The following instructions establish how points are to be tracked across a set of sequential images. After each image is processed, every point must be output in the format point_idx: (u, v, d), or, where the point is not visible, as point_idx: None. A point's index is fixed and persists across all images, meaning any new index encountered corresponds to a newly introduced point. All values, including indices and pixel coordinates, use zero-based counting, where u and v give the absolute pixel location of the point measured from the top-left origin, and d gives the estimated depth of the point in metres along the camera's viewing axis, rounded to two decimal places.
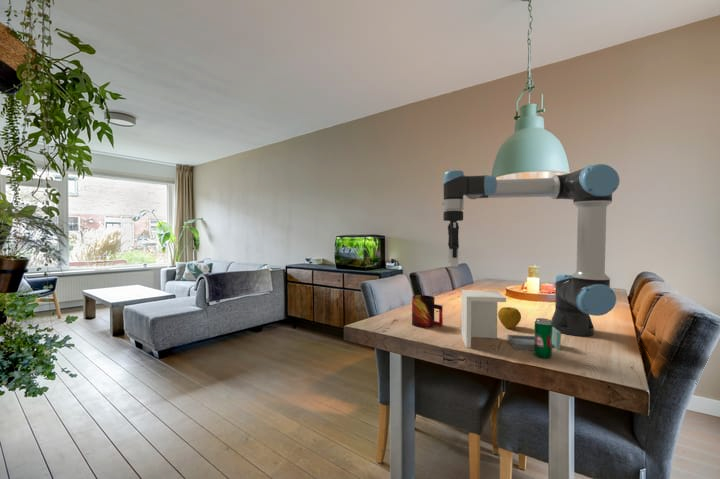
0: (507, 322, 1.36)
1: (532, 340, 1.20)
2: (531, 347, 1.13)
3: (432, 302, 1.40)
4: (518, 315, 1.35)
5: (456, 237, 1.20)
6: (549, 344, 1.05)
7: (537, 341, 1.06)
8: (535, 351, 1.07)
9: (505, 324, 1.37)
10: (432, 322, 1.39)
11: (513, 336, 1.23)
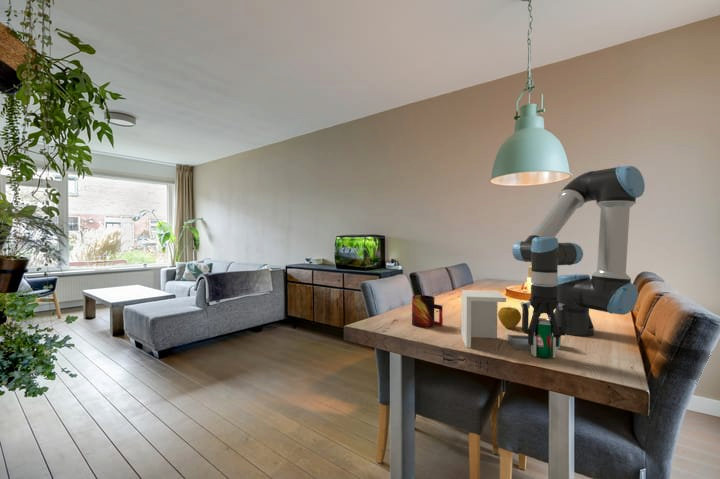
0: (507, 322, 1.36)
1: None
2: None
3: (432, 302, 1.40)
4: (518, 315, 1.35)
5: (523, 321, 1.07)
6: (549, 344, 1.05)
7: (537, 341, 1.06)
8: None
9: (505, 324, 1.37)
10: (432, 322, 1.39)
11: (513, 336, 1.23)
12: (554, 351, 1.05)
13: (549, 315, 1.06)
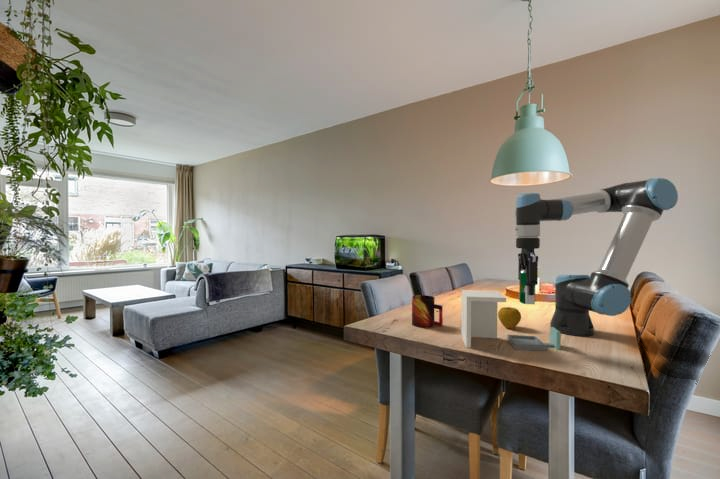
0: (507, 322, 1.36)
1: (532, 340, 1.20)
2: (531, 347, 1.13)
3: (432, 302, 1.40)
4: (518, 315, 1.35)
5: (535, 274, 1.11)
6: None
7: None
8: None
9: (505, 324, 1.37)
10: (432, 322, 1.39)
11: (513, 336, 1.23)
12: None
13: None
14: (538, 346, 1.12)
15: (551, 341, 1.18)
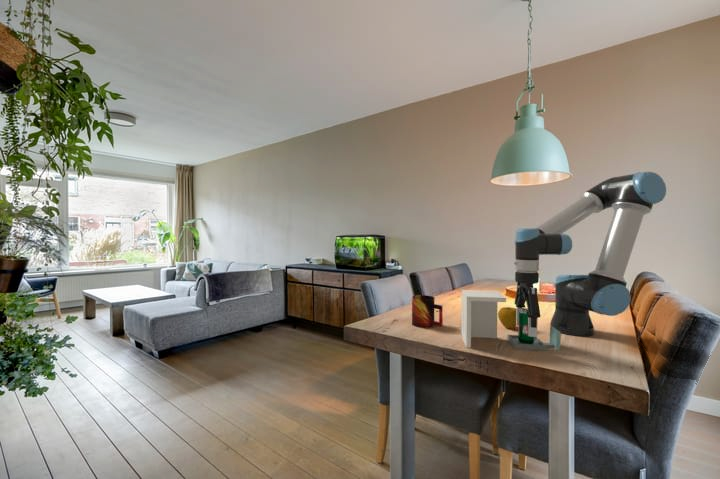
0: (507, 322, 1.36)
1: None
2: (531, 347, 1.13)
3: (432, 302, 1.40)
4: None
5: (536, 305, 1.09)
6: None
7: None
8: (529, 340, 1.15)
9: (505, 324, 1.37)
10: (432, 322, 1.39)
11: (513, 336, 1.23)
12: None
13: None
14: (538, 346, 1.12)
15: (551, 341, 1.18)
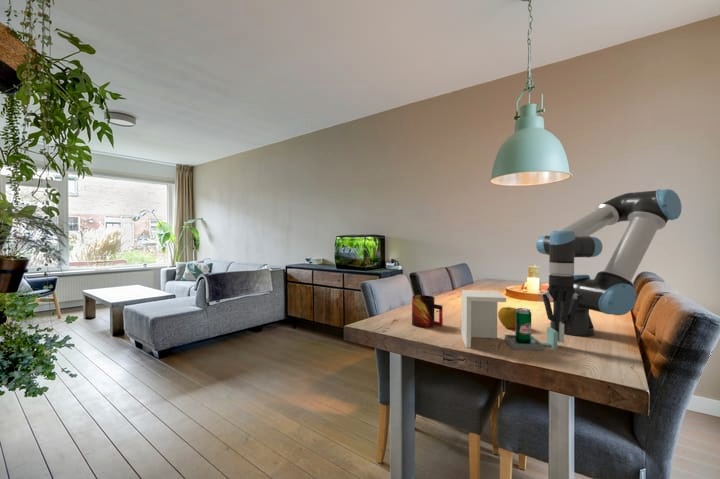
0: (507, 322, 1.36)
1: None
2: (528, 347, 1.13)
3: (432, 302, 1.40)
4: None
5: (547, 310, 1.16)
6: None
7: (529, 330, 1.15)
8: (526, 340, 1.15)
9: (505, 324, 1.37)
10: (432, 322, 1.39)
11: (510, 336, 1.23)
12: (562, 336, 1.14)
13: (563, 302, 1.15)
14: (535, 346, 1.12)
15: (548, 341, 1.18)
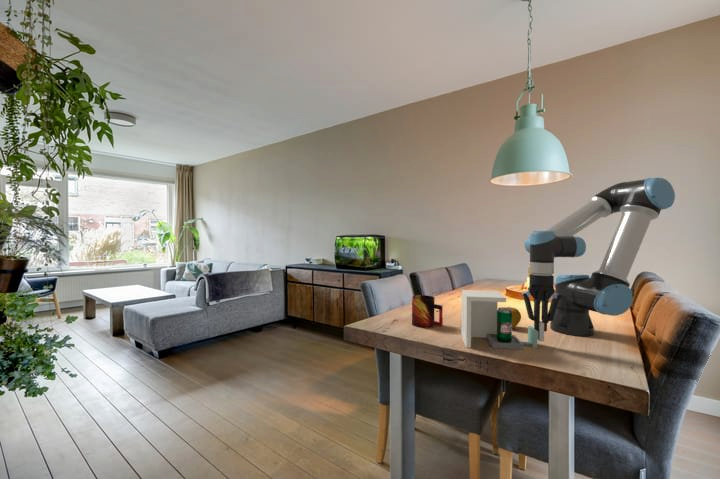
0: None
1: None
2: (508, 346, 1.14)
3: (432, 302, 1.40)
4: (518, 315, 1.35)
5: (528, 310, 1.17)
6: None
7: (509, 329, 1.16)
8: (507, 339, 1.16)
9: None
10: (432, 322, 1.39)
11: (492, 335, 1.24)
12: (542, 335, 1.15)
13: (543, 302, 1.16)
14: (515, 345, 1.14)
15: (529, 340, 1.19)
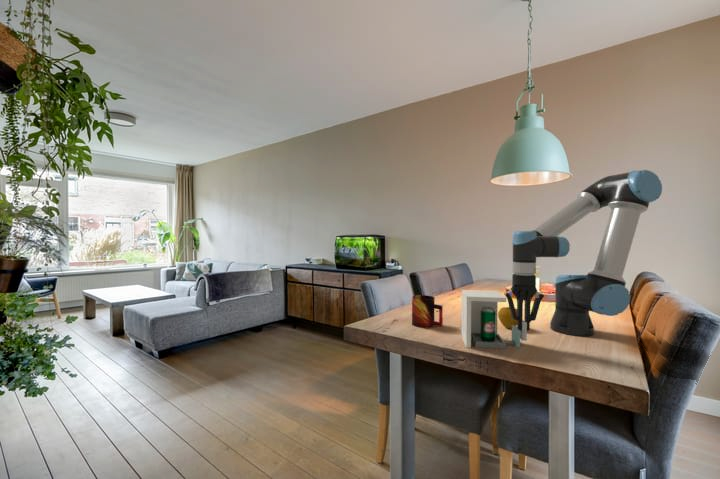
0: (507, 322, 1.36)
1: None
2: (491, 345, 1.15)
3: (432, 302, 1.40)
4: None
5: (511, 309, 1.18)
6: None
7: (492, 328, 1.17)
8: (490, 338, 1.17)
9: (505, 324, 1.37)
10: (432, 322, 1.39)
11: (477, 334, 1.25)
12: (525, 335, 1.16)
13: (526, 301, 1.17)
14: (498, 344, 1.15)
15: (512, 339, 1.20)
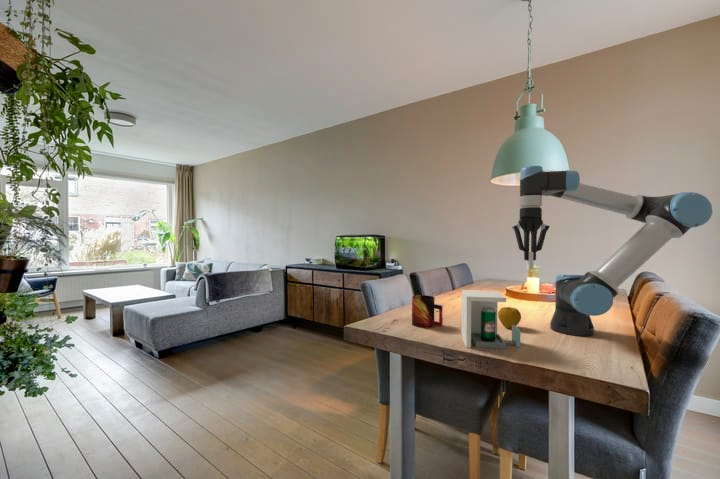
0: (507, 322, 1.36)
1: (495, 338, 1.22)
2: (491, 345, 1.15)
3: (432, 302, 1.40)
4: (518, 315, 1.35)
5: (518, 241, 1.26)
6: None
7: (493, 328, 1.17)
8: (490, 338, 1.17)
9: (505, 324, 1.37)
10: (432, 322, 1.39)
11: (477, 334, 1.25)
12: (532, 264, 1.24)
13: (532, 233, 1.25)
14: (498, 344, 1.14)
15: (512, 339, 1.20)
